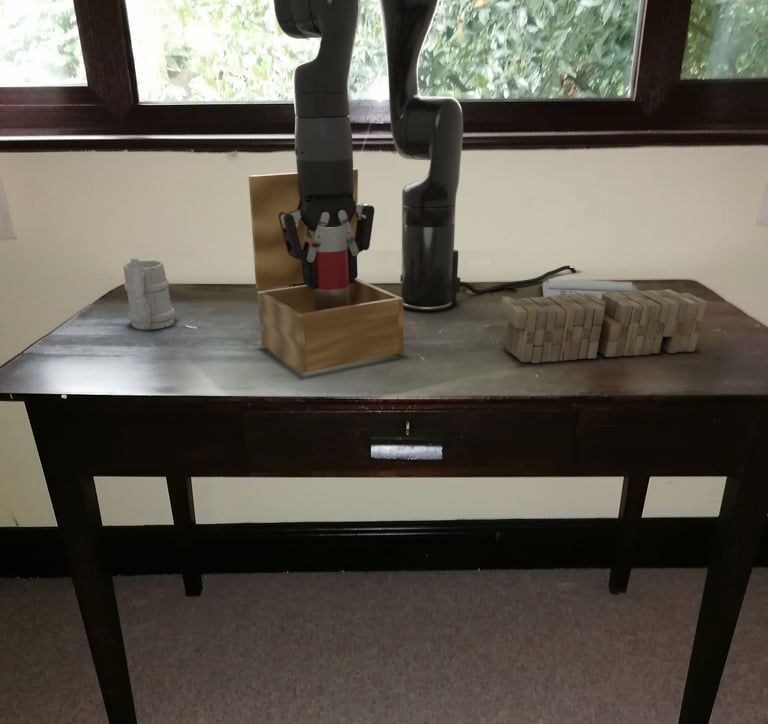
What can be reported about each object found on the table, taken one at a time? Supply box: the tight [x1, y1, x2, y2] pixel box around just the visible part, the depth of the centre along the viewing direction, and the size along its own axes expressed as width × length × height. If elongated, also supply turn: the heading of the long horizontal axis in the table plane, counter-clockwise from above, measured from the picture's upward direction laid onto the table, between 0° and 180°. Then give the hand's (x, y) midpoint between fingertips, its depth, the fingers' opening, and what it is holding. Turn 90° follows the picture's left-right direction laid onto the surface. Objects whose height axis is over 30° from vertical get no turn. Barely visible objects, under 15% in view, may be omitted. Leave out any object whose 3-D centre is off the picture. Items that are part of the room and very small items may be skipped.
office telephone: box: [542, 278, 639, 299], centre depth 132 cm, size 23×3×20 cm
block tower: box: [499, 288, 708, 364], centre depth 108 cm, size 8×8×29 cm
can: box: [309, 224, 350, 311], centre depth 103 cm, size 5×5×12 cm
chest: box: [256, 277, 404, 374], centre depth 108 cm, size 15×17×9 cm
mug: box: [122, 258, 176, 331], centre depth 119 cm, size 8×12×12 cm, turn 7°
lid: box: [248, 167, 359, 290], centre depth 108 cm, size 15×17×5 cm
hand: (331, 284), depth 104 cm, fingers closed on can, 5 cm apart
